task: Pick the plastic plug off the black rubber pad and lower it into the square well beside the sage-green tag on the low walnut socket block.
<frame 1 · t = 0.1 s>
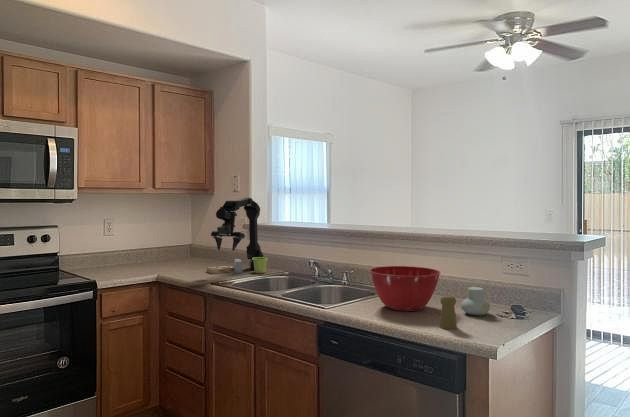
hand: (225, 250, 270), 15 cm above the worktop, tool pointing down, fingers open, 9 cm apart
socket block: (220, 272, 289), on the worktop
pad: (238, 274, 284), on the worktop
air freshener: (475, 314, 191), on the worktop
mixing bowl: (404, 307, 201), on the worktop
plug: (238, 273, 284), resting on pad
plant pot: (260, 273, 288), on the worktop
cork: (448, 327, 172), on the worktop
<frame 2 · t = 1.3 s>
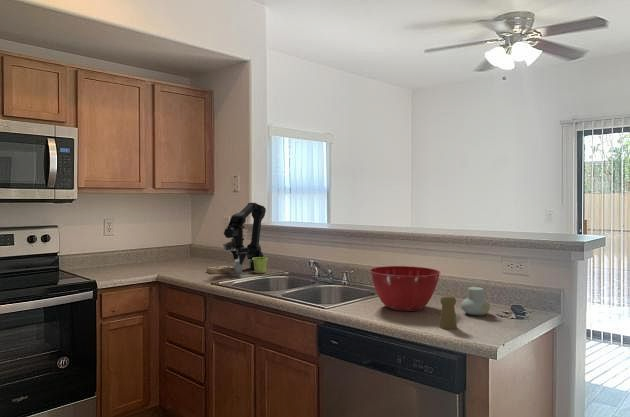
hand: (238, 263, 284), 6 cm above the worktop, tool pointing down, fingers open, 9 cm apart
nothing on the worktop moved.
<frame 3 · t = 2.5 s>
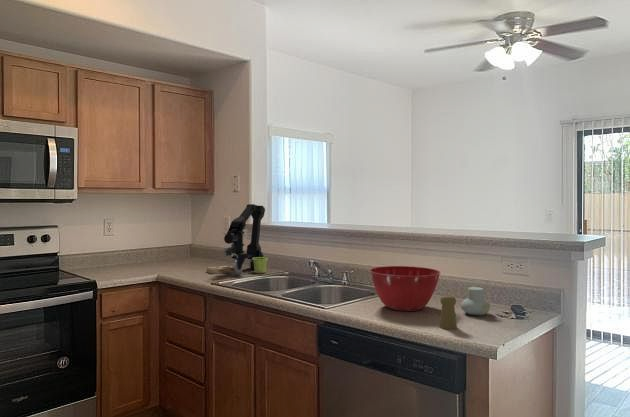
hand: (238, 269, 284), 3 cm above the worktop, tool pointing down, fingers closed on plug, 4 cm apart
plug: (238, 273, 284), resting on pad, touching gripper
everything else where it was.
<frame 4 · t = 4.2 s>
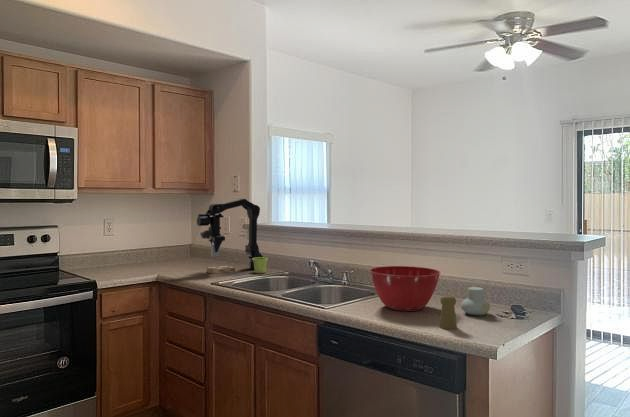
hand: (215, 252, 287), 12 cm above the worktop, tool pointing down, fingers closed on plug, 4 cm apart
plug: (215, 256, 287), point 10 cm above the worktop, touching gripper
everything else where it was.
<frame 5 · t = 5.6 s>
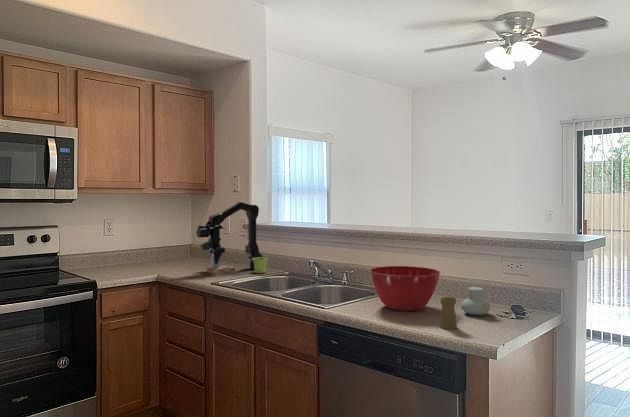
hand: (215, 263, 287), 6 cm above the worktop, tool pointing down, fingers closed on plug, 4 cm apart
plug: (215, 267, 287), point 3 cm above the worktop, touching gripper
everything else where it was.
when the fingers open (4 cm above the worktop, at t = 6.4 s): plug drops 2 cm, resting in socket block.
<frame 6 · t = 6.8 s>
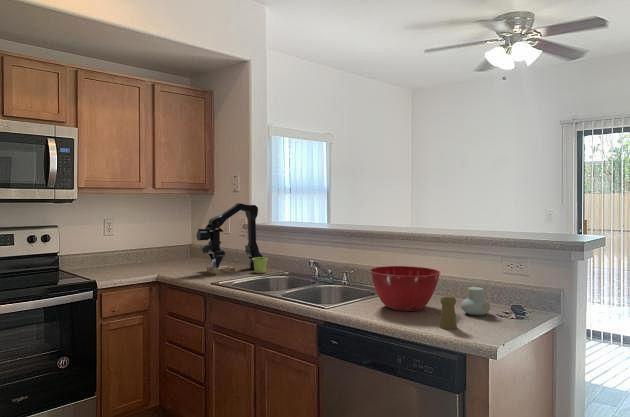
hand: (215, 266, 287), 4 cm above the worktop, tool pointing down, fingers open, 8 cm apart
plug: (215, 273, 287), resting in socket block
everything else where it was.
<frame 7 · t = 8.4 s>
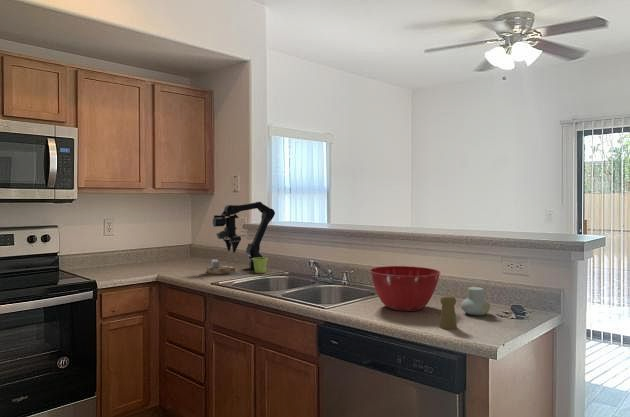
hand: (231, 251, 295), 12 cm above the worktop, tool pointing down, fingers open, 9 cm apart
nothing on the worktop moved.
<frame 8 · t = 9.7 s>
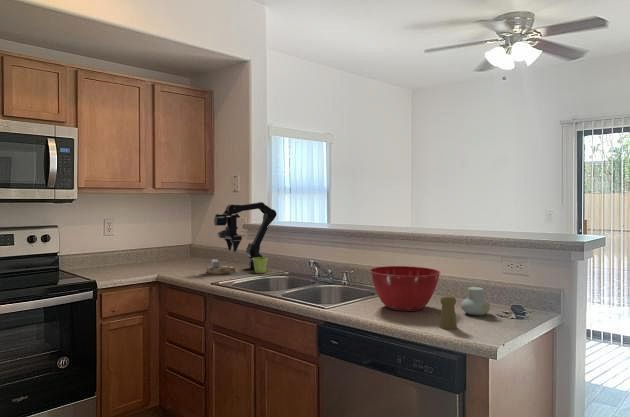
hand: (232, 251, 295), 12 cm above the worktop, tool pointing down, fingers open, 9 cm apart
nothing on the worktop moved.
at the end: plug 0.0 cm from the target spot on the socket block, point 0.0 cm above the socket block's base; plug tilted 0°; the gripper is holding nothing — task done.
